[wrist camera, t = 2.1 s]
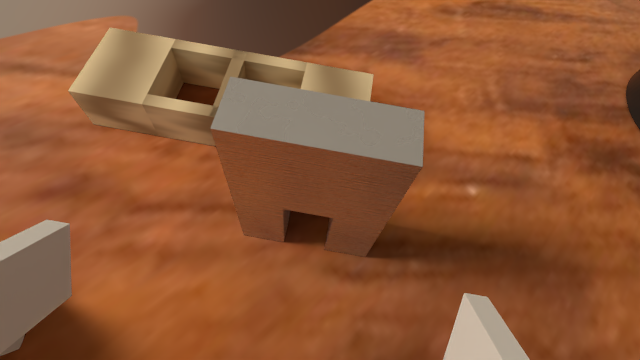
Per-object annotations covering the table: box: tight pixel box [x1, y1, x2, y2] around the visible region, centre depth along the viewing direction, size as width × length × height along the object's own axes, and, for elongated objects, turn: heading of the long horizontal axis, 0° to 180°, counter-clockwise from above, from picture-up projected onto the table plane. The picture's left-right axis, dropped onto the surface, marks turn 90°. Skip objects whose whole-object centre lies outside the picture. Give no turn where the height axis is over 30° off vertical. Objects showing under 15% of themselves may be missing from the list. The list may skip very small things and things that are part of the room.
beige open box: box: [68, 28, 373, 146], centre depth 30 cm, size 22×7×4 cm, turn 80°
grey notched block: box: [210, 76, 424, 257], centre depth 22 cm, size 9×3×13 cm, turn 80°
